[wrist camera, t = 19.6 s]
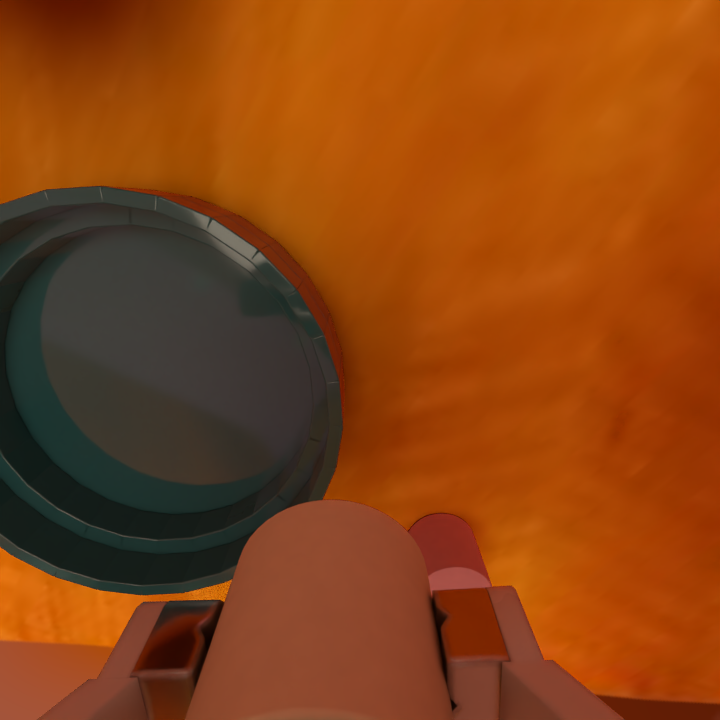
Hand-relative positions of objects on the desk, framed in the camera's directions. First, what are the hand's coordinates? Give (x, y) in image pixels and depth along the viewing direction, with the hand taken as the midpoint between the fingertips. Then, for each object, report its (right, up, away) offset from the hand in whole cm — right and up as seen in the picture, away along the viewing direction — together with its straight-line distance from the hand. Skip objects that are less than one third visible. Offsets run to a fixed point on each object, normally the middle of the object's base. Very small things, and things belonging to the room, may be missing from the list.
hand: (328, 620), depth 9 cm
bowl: (-9, +4, +16) cm, 19 cm away
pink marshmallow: (+5, -6, +19) cm, 21 cm away
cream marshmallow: (0, 0, +1) cm, 1 cm away
